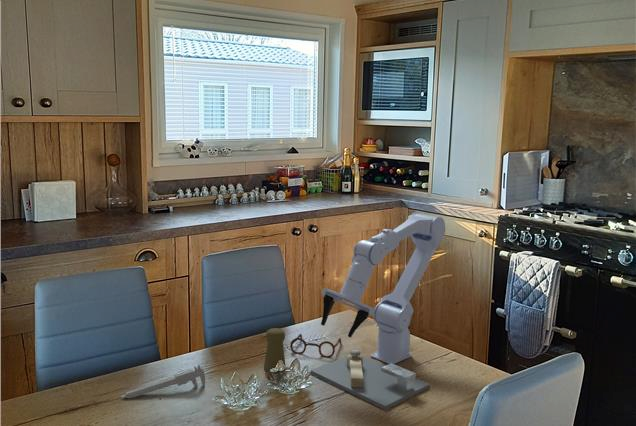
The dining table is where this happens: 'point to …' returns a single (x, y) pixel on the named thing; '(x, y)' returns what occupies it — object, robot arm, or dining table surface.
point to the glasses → (314, 345)
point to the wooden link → (355, 368)
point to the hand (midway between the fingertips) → (335, 331)
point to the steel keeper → (401, 376)
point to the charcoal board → (368, 382)
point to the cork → (274, 348)
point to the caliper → (170, 382)
